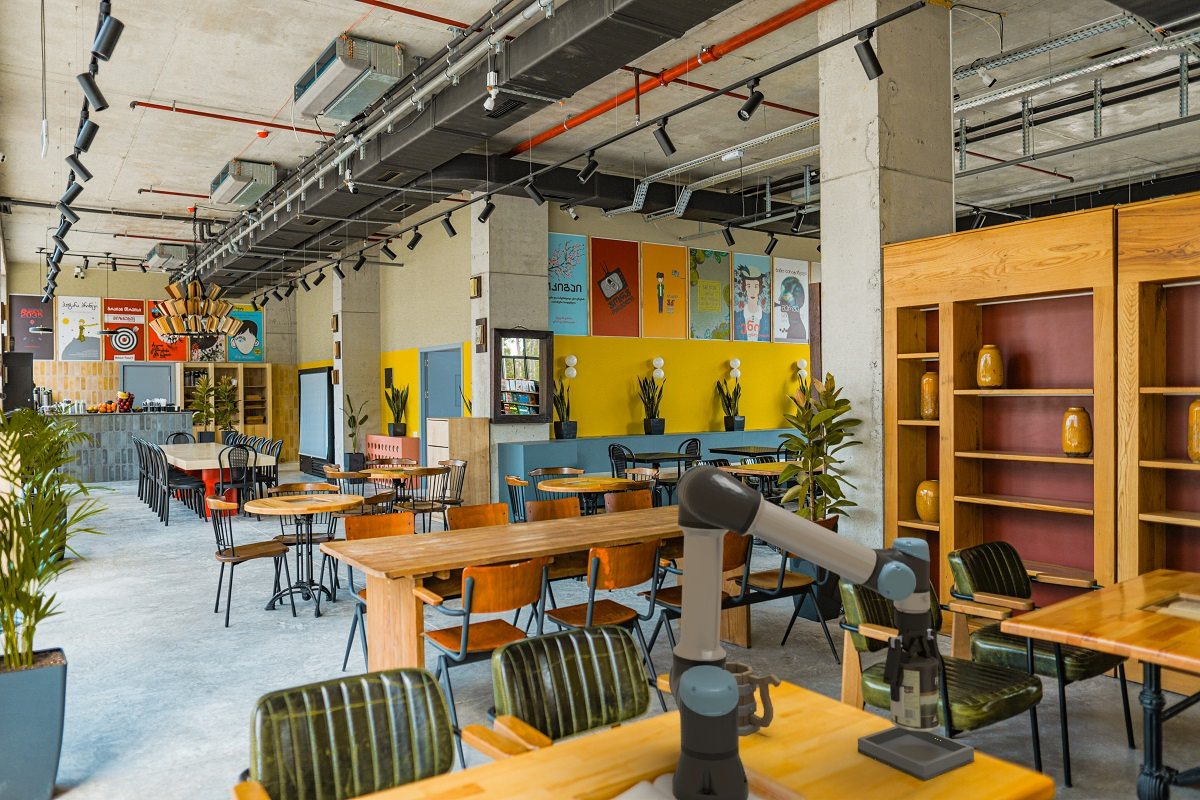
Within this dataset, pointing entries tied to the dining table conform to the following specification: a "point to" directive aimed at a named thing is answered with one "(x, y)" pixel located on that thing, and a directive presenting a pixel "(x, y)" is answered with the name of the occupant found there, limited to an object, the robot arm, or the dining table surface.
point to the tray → (916, 751)
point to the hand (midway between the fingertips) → (914, 710)
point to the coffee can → (919, 695)
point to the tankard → (752, 697)
